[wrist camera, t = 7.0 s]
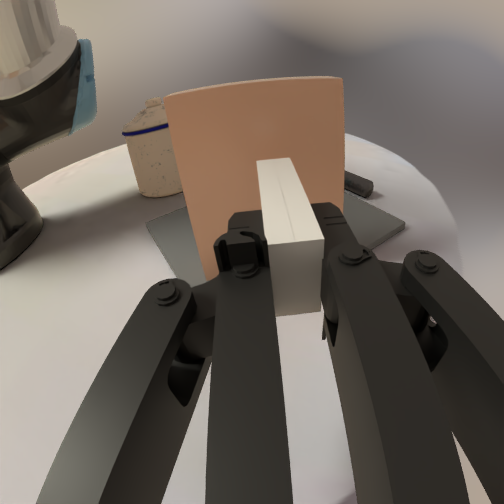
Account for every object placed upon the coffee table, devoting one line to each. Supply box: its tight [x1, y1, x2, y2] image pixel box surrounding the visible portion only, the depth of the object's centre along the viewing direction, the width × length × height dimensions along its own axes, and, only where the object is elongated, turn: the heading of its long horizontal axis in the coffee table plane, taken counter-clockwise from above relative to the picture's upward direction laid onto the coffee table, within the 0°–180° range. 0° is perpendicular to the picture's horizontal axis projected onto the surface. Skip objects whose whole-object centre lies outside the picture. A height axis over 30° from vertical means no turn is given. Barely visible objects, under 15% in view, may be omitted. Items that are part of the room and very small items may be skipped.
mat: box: [146, 192, 405, 287], centre depth 25 cm, size 18×16×1 cm
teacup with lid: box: [122, 97, 183, 197], centre depth 35 cm, size 12×9×12 cm
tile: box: [163, 76, 345, 281], centre depth 17 cm, size 3×9×12 cm, turn 92°
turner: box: [344, 170, 373, 198], centre depth 35 cm, size 20×6×2 cm, turn 32°
